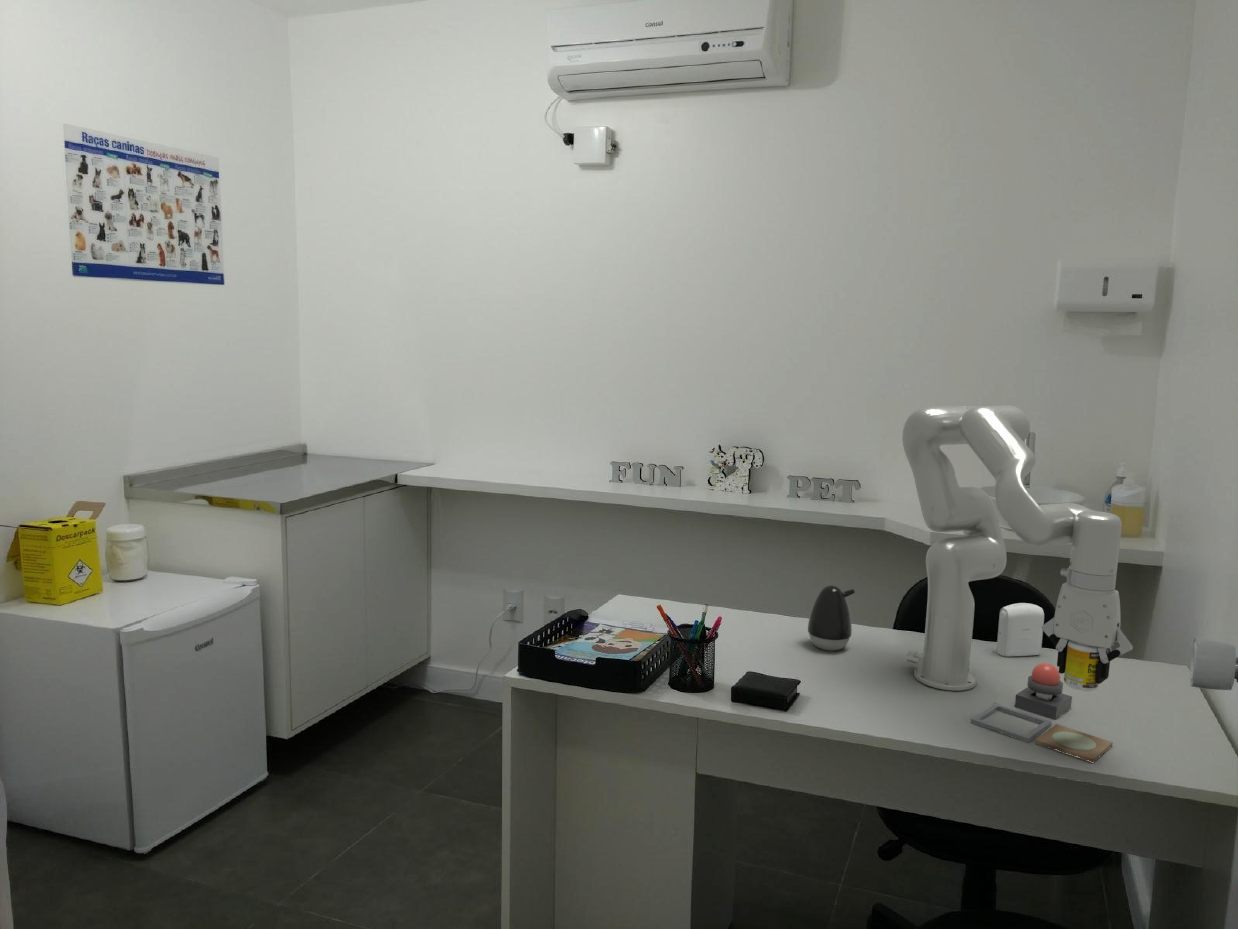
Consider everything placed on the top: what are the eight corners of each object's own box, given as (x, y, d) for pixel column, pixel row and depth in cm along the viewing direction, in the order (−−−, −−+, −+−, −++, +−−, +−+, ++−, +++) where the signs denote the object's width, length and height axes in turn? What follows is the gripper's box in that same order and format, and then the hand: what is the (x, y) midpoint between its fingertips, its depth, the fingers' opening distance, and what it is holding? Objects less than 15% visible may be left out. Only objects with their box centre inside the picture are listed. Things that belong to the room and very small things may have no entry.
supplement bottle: (1087, 694, 157) (1093, 639, 156) (1057, 684, 162) (1062, 630, 160) (1104, 688, 160) (1109, 634, 159) (1074, 678, 165) (1079, 625, 163)
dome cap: (1021, 699, 179) (1024, 663, 178) (1033, 691, 184) (1037, 655, 183) (1053, 709, 175) (1057, 672, 174) (1066, 701, 179) (1069, 664, 178)
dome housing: (1014, 706, 180) (1015, 694, 179) (1030, 695, 185) (1031, 684, 185) (1055, 719, 174) (1056, 707, 173) (1070, 708, 179) (1072, 696, 179)
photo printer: (1003, 658, 206) (1008, 607, 204) (993, 651, 211) (997, 601, 209) (1043, 656, 208) (1048, 606, 206) (1032, 650, 212) (1037, 600, 210)
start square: (970, 722, 171) (970, 718, 171) (995, 707, 179) (995, 703, 179) (1028, 742, 164) (1028, 738, 163) (1051, 725, 171) (1051, 721, 171)
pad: (1034, 743, 163) (1035, 739, 163) (1055, 727, 170) (1056, 723, 170) (1092, 763, 156) (1093, 758, 156) (1112, 746, 163) (1112, 741, 163)
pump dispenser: (856, 655, 206) (860, 592, 204) (811, 654, 206) (815, 591, 204) (845, 640, 216) (849, 580, 214) (803, 638, 216) (806, 578, 214)
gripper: (1034, 574, 162) (1025, 668, 164) (1138, 595, 150) (1126, 696, 152) (1050, 567, 167) (1041, 658, 170) (1151, 587, 155) (1140, 685, 157)
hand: (1081, 675), depth 161 cm, fingers closed on supplement bottle, 5 cm apart
